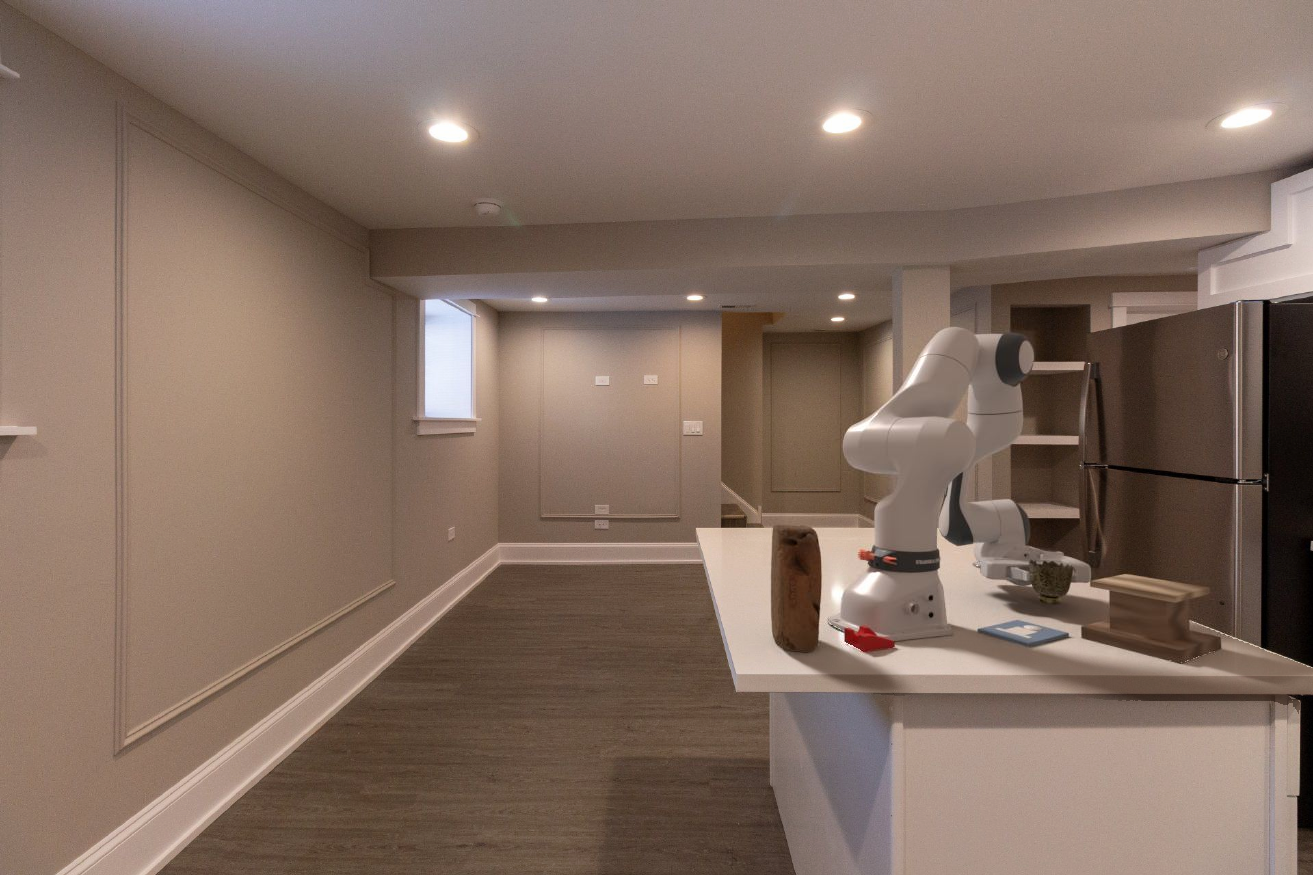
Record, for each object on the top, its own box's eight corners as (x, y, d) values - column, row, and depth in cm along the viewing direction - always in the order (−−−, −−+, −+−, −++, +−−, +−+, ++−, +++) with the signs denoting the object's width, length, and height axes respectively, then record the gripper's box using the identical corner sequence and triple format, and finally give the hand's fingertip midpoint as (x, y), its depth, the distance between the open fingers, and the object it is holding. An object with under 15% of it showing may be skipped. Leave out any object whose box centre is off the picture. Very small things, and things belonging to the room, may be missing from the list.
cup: (1058, 599, 122) (1060, 560, 122) (1080, 609, 115) (1082, 568, 115) (1020, 597, 123) (1021, 558, 123) (1039, 606, 116) (1041, 565, 116)
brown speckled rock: (769, 633, 107) (768, 522, 107) (811, 634, 107) (810, 522, 107) (779, 654, 96) (778, 530, 96) (826, 655, 96) (825, 530, 96)
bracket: (864, 655, 97) (864, 636, 97) (844, 645, 102) (844, 628, 102) (894, 650, 99) (894, 632, 99) (874, 641, 104) (874, 623, 104)
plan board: (1028, 647, 99) (1028, 642, 100) (977, 632, 107) (977, 628, 107) (1068, 636, 105) (1068, 632, 105) (1017, 622, 113) (1017, 619, 113)
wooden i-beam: (1180, 663, 92) (1179, 598, 92) (1081, 637, 104) (1080, 580, 104) (1221, 648, 98) (1220, 588, 98) (1122, 626, 111) (1122, 572, 111)
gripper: (969, 548, 133) (996, 560, 119) (1068, 551, 131) (1107, 563, 117) (969, 576, 133) (996, 591, 119) (1068, 580, 131) (1107, 595, 117)
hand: (1052, 577), depth 118 cm, fingers closed on cup, 7 cm apart
